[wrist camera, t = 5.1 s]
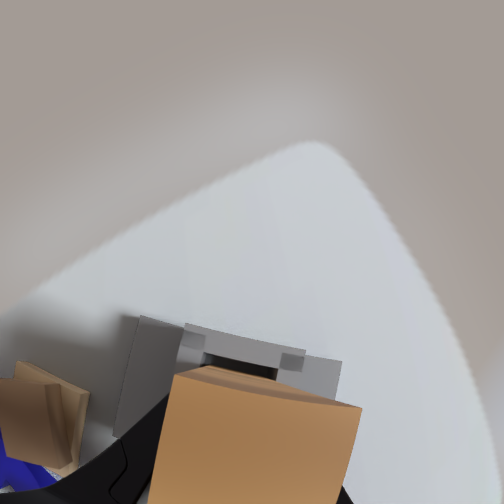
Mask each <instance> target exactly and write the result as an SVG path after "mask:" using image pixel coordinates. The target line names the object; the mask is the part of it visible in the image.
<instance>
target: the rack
mask: <svg viewBox="0 0 504 504" xmlns="http://www.w3.org/2000/svg"><path fill="white" fill-rule="evenodd" d="M305 353H306V350H303V349H298V348H293V347H288V346H282V345H278V344H273V343H268V342H263V341H259V340H254V339H249V338H245V337H241V336H236V335H232V334H228V333H224V332H220V331H215V330H211V329H208V328H204V327H200V326H196V325H192V324H188V323H185V327H184V328H183V327H179V326H176V325H172V324H169V323H165V322H162V321H158V320H155V319H151V318H148V317H145V316H142V315H140V318H139V322H138V325H137V329H136V333H135V337H134V340H133V344H132V348H131V352H130V356H129V360H128V364H127V368H126V373H125V377H124V381H123V386H122V390H121V395H120V399H119V404H118V409H117V414H116V419H115V424H114V429H113V435H112V436H114V437H116V438H119V439H120V437H121V436H122V435H123V434H124V433H125V432H127V431H128V430H129V429H130V428H131V427H132V426H133V425H134V424H135V423H136V422H138V421H139V420H140V419H141V418H142V417H143V416H144V415H145V414H146V413H147V412H148V411H149V410H151V409H152V408H153V407H154V406H155V405H156V404H157V403H158V402H159V401H160V400H161V399H162V398H163V397H164V396H165V395H166V394H168V393H169V392H170V391H171V387H172V383H173V378H174V374H177V373H181V372H185V371H189V370H193V369H197V368H201V367H204V366H208V365H215V366H219V367H223V368H228V369H232V370H237V371H241V372H246V373H250V374H255V375H260V376H263V377H265V378H268V379H271V380H274V381H276V382H279V383H282V384H285V385H288V386H291V387H294V388H297V389H300V390H303V391H306V392H309V393H312V394H315V395H318V396H322V397H325V398H328V399H331V400H335V396H336V391H337V386H338V381H339V376H340V371H341V365H342V361H337V360H331V359H325V358H319V357H313V356H307V355H305Z"/></svg>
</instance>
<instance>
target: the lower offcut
mask: <svg viewBox="0 0 504 504" xmlns="http://www.w3.org/2000/svg"><path fill="white" fill-rule="evenodd" d="M13 379H19V380H27V381H37V382H48V383H60V388H61V397H62V404H63V411H64V418H65V424H66V430H67V435H68V441H69V446H70V450H71V454H72V459H73V462H71V463H70V464H68V465H66V466H65V467H63V468H61V469H60V470H59V469H54V468H50V467H45V466H44V467H45V468H47V469H49V470H51V471H52V472H54V473H56V474H58V475H60V476H62V477H66V476H67V475H69V474H71V473H72V472H74V471H76V470H77V469H78V463H79V455H80V448H81V441H82V434H83V428H84V422H85V417H86V411H87V406H88V401H89V396H90V392H88V391H86V390H84V389H81V388H79V387H77V386H75V385H73V384H70V383H68V382H66V381H64V380H62V379H60V378H58V377H56V376H54V375H52V374H50V373H48V372H46V371H44V370H42V369H40V368H38V367H37V366H35V365H33V364H31V363H29V362H24V361H16V366H15V371H14V377H13Z"/></svg>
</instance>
